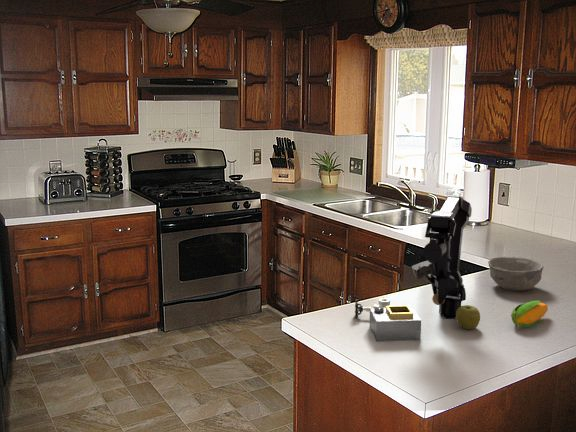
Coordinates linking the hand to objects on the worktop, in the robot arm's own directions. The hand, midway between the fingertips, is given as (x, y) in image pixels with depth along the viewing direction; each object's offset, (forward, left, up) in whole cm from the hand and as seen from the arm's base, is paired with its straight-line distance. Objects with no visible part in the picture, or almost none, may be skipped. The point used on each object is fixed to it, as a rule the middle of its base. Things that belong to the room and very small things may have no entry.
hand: (438, 301), depth 198 cm
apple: (-12, -5, -11) cm, 17 cm away
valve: (+18, -17, -11) cm, 27 cm away
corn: (-34, -8, -11) cm, 37 cm away
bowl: (-44, -45, -11) cm, 64 cm away
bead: (0, 0, -1) cm, 1 cm away
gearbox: (+13, -2, -11) cm, 18 cm away
